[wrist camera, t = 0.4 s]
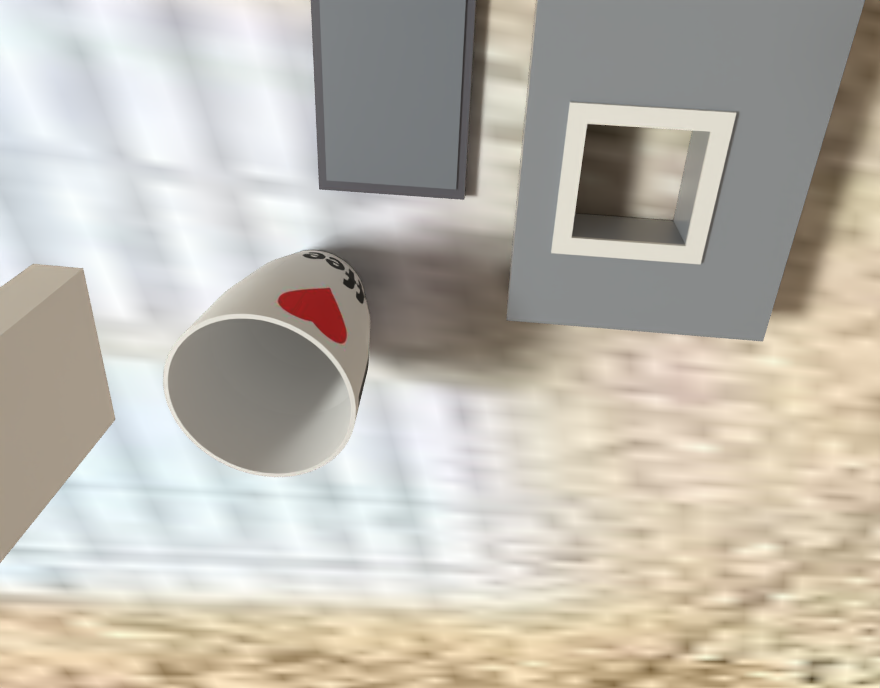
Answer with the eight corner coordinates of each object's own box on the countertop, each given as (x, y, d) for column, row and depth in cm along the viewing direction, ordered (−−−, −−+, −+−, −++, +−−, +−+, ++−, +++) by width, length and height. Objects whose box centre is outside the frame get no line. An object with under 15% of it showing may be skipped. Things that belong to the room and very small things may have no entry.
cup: (418, 332, 40) (389, 447, 31) (290, 378, 42) (230, 497, 34) (348, 197, 36) (293, 285, 28) (213, 255, 39) (123, 352, 30)
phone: (311, -159, 30) (302, -162, 29) (485, -153, 29) (484, -155, 28) (325, 181, 37) (318, 189, 36) (465, 191, 36) (463, 200, 35)
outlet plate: (547, -121, 29) (549, -124, 26) (863, -107, 28) (900, -109, 25) (507, 292, 38) (506, 322, 35) (746, 311, 37) (763, 343, 35)
